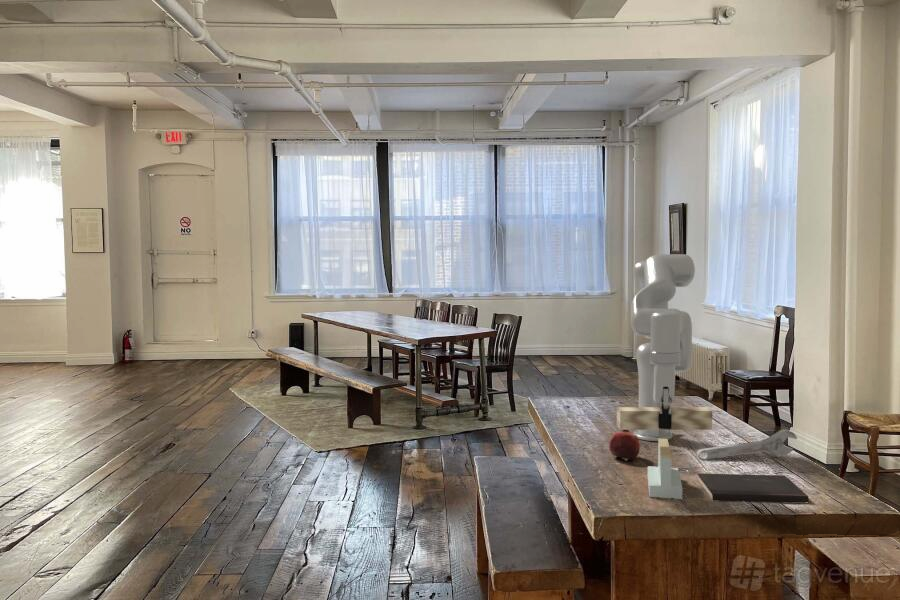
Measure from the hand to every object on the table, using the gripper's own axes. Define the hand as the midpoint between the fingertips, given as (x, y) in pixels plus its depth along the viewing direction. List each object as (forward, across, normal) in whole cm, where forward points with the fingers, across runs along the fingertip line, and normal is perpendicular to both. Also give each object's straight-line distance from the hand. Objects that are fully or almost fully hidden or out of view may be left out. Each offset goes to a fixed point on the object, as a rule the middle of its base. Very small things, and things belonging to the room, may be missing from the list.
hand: (664, 425), depth 186 cm
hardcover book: (+17, 0, +22) cm, 28 cm away
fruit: (+16, -22, -10) cm, 29 cm away
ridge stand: (+16, +2, 0) cm, 16 cm away
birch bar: (+1, 0, 0) cm, 1 cm away
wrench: (+17, -30, +25) cm, 43 cm away
